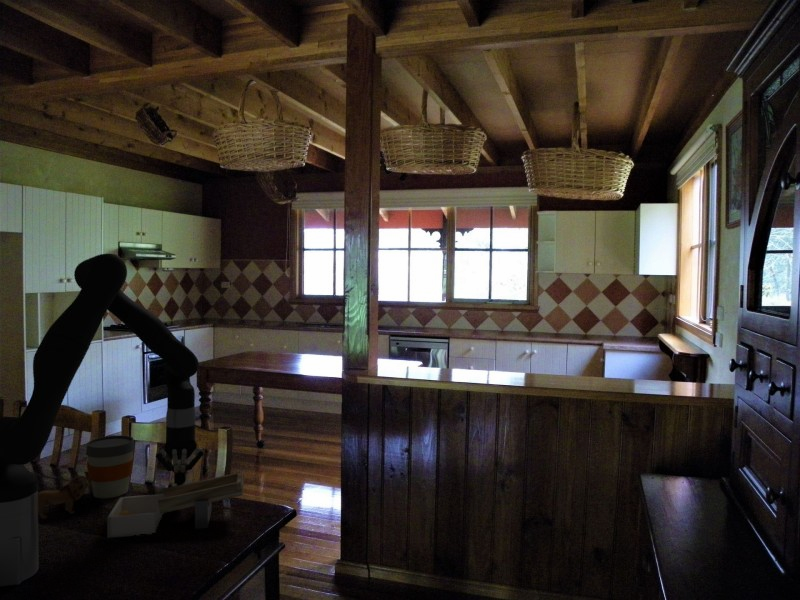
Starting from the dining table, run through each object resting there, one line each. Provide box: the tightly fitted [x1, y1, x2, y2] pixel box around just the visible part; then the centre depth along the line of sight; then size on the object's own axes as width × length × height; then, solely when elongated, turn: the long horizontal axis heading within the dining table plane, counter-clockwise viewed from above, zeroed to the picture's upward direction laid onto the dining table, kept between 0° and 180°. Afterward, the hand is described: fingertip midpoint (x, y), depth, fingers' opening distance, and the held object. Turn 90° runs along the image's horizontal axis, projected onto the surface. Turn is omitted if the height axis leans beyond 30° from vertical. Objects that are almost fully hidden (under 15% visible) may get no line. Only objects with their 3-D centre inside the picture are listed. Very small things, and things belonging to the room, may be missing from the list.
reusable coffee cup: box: [85, 435, 136, 499], centre depth 159 cm, size 13×13×15 cm
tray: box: [106, 493, 164, 539], centre depth 139 cm, size 13×11×5 cm
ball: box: [119, 510, 131, 515], centre depth 139 cm, size 3×3×3 cm
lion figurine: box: [38, 474, 88, 520], centre depth 145 cm, size 15×5×9 cm, turn 131°
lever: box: [158, 471, 245, 514], centre depth 147 cm, size 18×20×4 cm
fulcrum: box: [194, 499, 213, 530], centre depth 143 cm, size 11×3×7 cm, turn 14°
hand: (180, 484), depth 152 cm, fingers closed
